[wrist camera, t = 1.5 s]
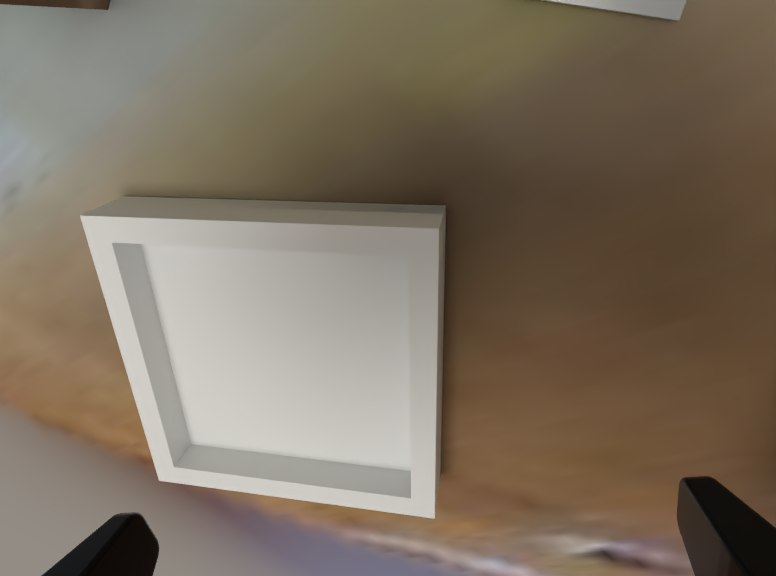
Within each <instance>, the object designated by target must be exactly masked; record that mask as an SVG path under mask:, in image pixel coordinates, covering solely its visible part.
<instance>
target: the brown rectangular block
mask: <svg viewBox="0 0 776 576" xmlns="http://www.w3.org/2000/svg"><path fill="white" fill-rule="evenodd" d="M109 2H110V0H0V4H10V5H29V6H48V7H66V8H85V9H104V10H108V7H109Z"/></svg>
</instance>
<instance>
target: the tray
mask: <svg viewBox="0 0 776 576" xmlns="http://www.w3.org/2000/svg"><path fill="white" fill-rule="evenodd" d="M80 217H81V221H82V224H83V227H84V231H85V234H86V237H87V241H88V244H89V247H90V251H91V254H92V257H93V261H94V264H95V267H96V271H97V274H98V277H99V281H100V284H101V288H102V291H103V294H104V298H105V301H106V304H107V308H108V311H109V314H110V318H111V321H112V324H113V328H114V331H115V334H116V338H117V341H118V344H119V348H120V351H121V354H122V358H123V361H124V365H125V368H126V371H127V375H128V378H129V381H130V385H131V388H132V391H133V395H134V398H135V401H136V405H137V408H138V411H139V415H140V418H141V421H142V425H143V428H144V431H145V435H146V438H147V441H148V445H149V448H150V452H151V455H152V458H153V462H154V465H155V468H156V472H157V475H158V478H159V481H166V482H173V483H181V484H188V485H195V486H202V487H210V488H217V489H224V490H231V491H238V492H246V493H253V494H260V495H267V496H275V497H282V498H289V499H296V500H304V501H311V502H318V503H325V504H333V505H340V506H347V507H354V508H362V509H369V510H376V511H383V512H391V513H398V514H405V515H412V516H420V517H427V518H434V519H435V512H436V505H437V497H438V490H439V482H440V475H441V427H442V379H443V332H444V284H445V237H446V205H412V204H377V203H342V202H306V201H271V200H236V199H201V198H165V197H130V196H123V197H121V198H119V199H117V200H114V201H112V202H110V203H108V204H105V205H103V206H101V207H98V208H96V209H94V210H92V211H89V212H87V213H85V214H82V215H80Z"/></svg>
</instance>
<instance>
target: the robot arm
mask: <svg viewBox="0 0 776 576" xmlns="http://www.w3.org/2000/svg"><path fill="white" fill-rule="evenodd" d="M677 521H678V526H679V530H680V533H681V536H682V539H683V542H684V545H685V548H686V551H687V554H688V556H689V559H690V562H691V565H692V568H693V571H694V574H695V576H776V528H775V527H774V526H773V525H771V524H770V523H769V522H768V521H766V520H765V519H764V518H763V517H761V516H760V515H759V514H758V513H756V512H755V511H754V510H753V509H751V508H750V507H749V506H748V505H746V504H745V503H744V502H743V501H742V500H740V499H739V498H738V497H737V496H735V495H734V494H733V493H732V492H730V491H729V490H728V489H727V488H725V487H724V486H723V485H722V484H720V483H719V482H718V481H717V480H715V479H714V478H711V477H709V476H700V477H685V478H683V479H681V481H680V484H679V494H678V506H677ZM158 554H159V544H158V540H157V538H156V537H155V535H154V534H153V532H152V530H151V529H150V527H149V525H148V524H147V522H146V520H145V519H144V517H143V516H142V515H141V514H140V513H137V512H134V513H133V512H132V513H120V514H117V515H114V516H113V517H112V518H110V519H109V520H108V521H107V522H105V523H104V524H103V525H102V526H101V527H100V528H98V529H97V530H96V531H95V532H94V533H92V534H91V535H90V536H89V537H88V538H86V539H85V540H84V541H83V542H81V543H80V544H79V545H78V546H77V547H76V548H74V549H73V550H72V551H71V552H70V553H68V554H67V555H66V556H65V557H64V558H62V559H61V560H60V561H59V562H58V563H56V564H55V565H54V566H53V567H52V568H50V569H49V570H48V571H47V572H46V573H44V574H43V575H42V576H153V572H154V569H155V565H156V562H157V558H158Z"/></svg>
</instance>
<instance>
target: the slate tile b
mask: <svg viewBox="0 0 776 576" xmlns="http://www.w3.org/2000/svg"><path fill="white" fill-rule="evenodd" d="M539 1H545V2H552V3H558V4H565V5H572V6H578V7H585V8H591V9H598V10H605V11H611V12H618V13H624V14H631V15H638V16H644V17H651V18H657V19H664V20H670V21H679V20H680V17H681V14H682V12H683V9H684V6H685V3H686V1H687V0H539Z"/></svg>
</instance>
